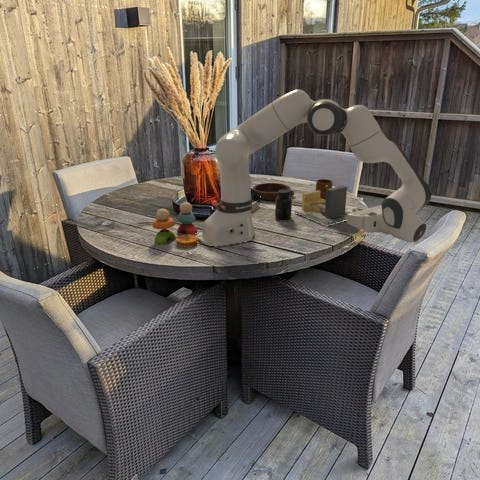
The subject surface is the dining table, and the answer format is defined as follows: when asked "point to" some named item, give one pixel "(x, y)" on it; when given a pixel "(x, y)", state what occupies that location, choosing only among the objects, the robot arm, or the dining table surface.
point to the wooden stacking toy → (186, 219)
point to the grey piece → (317, 208)
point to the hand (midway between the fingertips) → (355, 210)
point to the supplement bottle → (283, 205)
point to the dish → (271, 190)
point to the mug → (323, 187)
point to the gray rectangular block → (335, 202)
